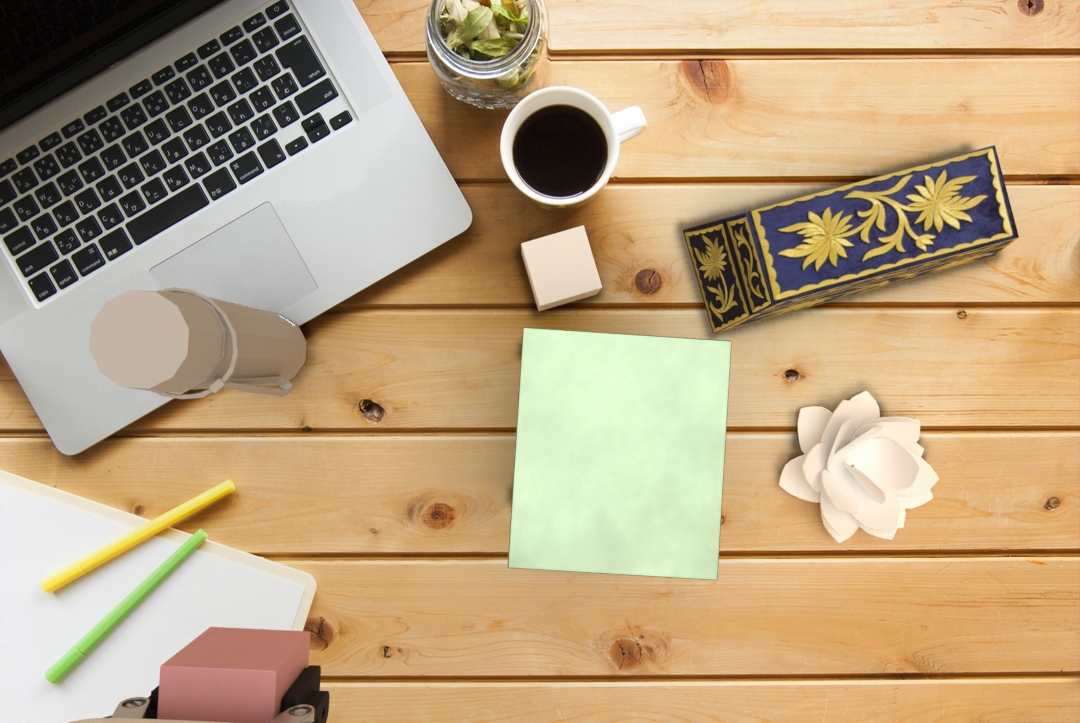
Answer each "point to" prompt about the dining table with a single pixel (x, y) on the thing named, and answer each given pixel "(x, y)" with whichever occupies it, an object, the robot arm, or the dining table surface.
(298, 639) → the pink box
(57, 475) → the dining table surface
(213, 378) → the water bottle
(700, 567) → the pale green block
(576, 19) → the dining table surface
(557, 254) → the pale peach cube
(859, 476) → the lotus flower
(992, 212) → the decorative box
